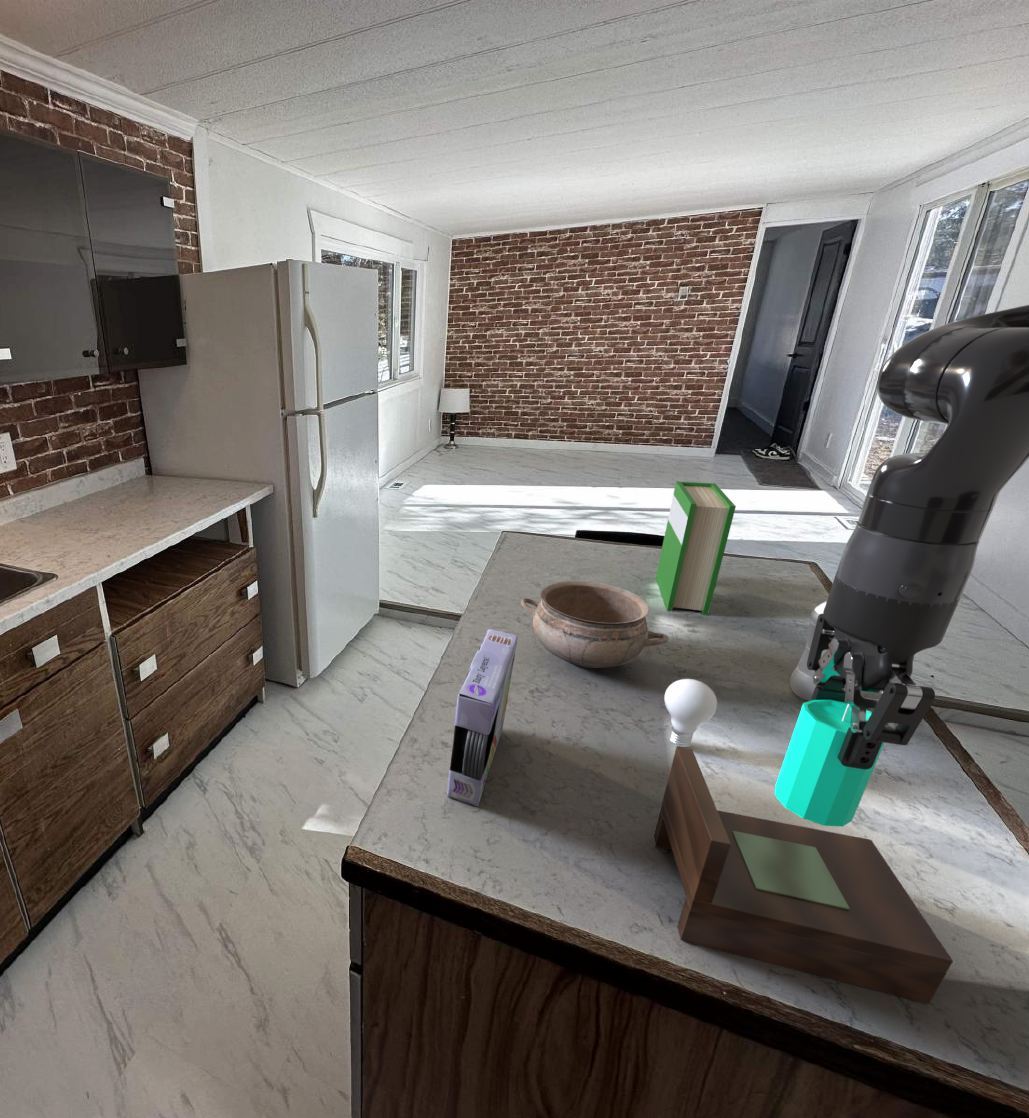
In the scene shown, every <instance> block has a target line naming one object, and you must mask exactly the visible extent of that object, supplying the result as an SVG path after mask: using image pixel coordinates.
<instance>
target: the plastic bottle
mask: <svg viewBox="0 0 1029 1118" xmlns="http://www.w3.org/2000/svg"><path fill="white" fill-rule="evenodd" d="M826 602H827V600H825V601H823V602H821V603H819V604H818V605H816V606H815V607H814V608H813V609H812V611H811V612H810V616H809V625H808V626H809V627H808V635H807V639H806V644H805V647H804V651H803V653H802V655H801V657H800V658H799V659H800V660H799V661H798V663H797V665H796V667H795V668H794V670H793V671H792V673H791V675H790V681H789V687H790V688H791V691H792V692H793V693H794V694H795V695H796V696H797V697H799V698H801V699H803V700H805V701H806V702H808V701H811V698H812V696H813V693H814V690H815V687H816V686H817V685H815V684H814V683H813V675H814V673H815V671H814V670H809V669H808V668H807V660H808V656H809V652H810V648H811V644H812V640H813V636H814V631H815V627H816V623H817V619H818V616H819V614H821V613H822V614H823V611H824V608H825V605H826ZM826 651H827V650H823V651H822V654H821V657H822V656H823V655H824V653H825V652H826ZM842 690H844V691H846V689H843V688H842Z"/></svg>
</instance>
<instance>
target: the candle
mask: <svg viewBox="0 0 1029 1118" xmlns="http://www.w3.org/2000/svg"><path fill="white" fill-rule="evenodd" d="M872 712H873V711H871V710H868V709H867V710H866V721H868V719H869V718H870V716H871V714H872ZM850 723H851V705H850V704H848V703H847V702H845V701H844V702H840V701H835V700H830V699H827V700H811V701H806V702H803V703H802V706H801V708H800V712H799V714H798V717H797V720H796V723H795V727H794V729H793V732H792V735H791V737H790V740H789V744H788V747H787V749H786V752H785V755H784V759H783V761H782V764H781V767H780V770H779V773H778V776H777V779H776V782H775V785H774V797H775V798H776V799H777V800H778V801H779V802H780V804H782V806H783V807H784V808H785V809H787V810H788V811H790V812H791V813H793V814H795V815H796V816H798V817H800V818H801V819H803V820H805V821H809V822H812V823H815V824H817V825H820V826H824V827H838V828H839V827H842V828H843V827H845V826H846V825H848V824H850V823H851V822H853V820H854V818H855V814H856V812H857V810H858V807H859V805H860V803H861V801H862V798H863V795H864V793H865V791H866V788H867V786H868V783H869V781H870V779H871V776H872V774H873V771H874V768H875V766H876V764H877V761H878V759H879V757H880V754H881V752H882V750H883V747H884V744H885V743H884V742H883V743H882V745H881V747H880V750H879V752H878V755H877V757H876V759H875V762H874V764H873V766H872V767H871V768H870V769H858V768H852V767H846V766H843V765H842V764H841V762H840V761H839V759H838V754H839V752H840V749H841V747H842V744H843V741H844V739H845V736H846V734H847V731H848V728H849V727H850ZM850 728H851V727H850Z"/></svg>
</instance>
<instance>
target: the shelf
mask: <svg viewBox="0 0 1029 1118" xmlns="http://www.w3.org/2000/svg"><path fill="white" fill-rule="evenodd" d="M655 824H656V825H655V829H654V831H653V832H654V833H653V836H652V837H653V841H654V844H655V847H657V848H662V849H666V850H671V851H672V853H673V857H674V861H675V864H676V868H677V871H678V874H679V877H680V881H681V885H682V887H683V891H684V895H685V899H684V903H683V907H682V910H681V913H680V917H679V920H678V923H677V926H676V927H677V930H678V931H677V932H678V935H679V938H680V940H681V941H683V942H687V943H691V944H695V945H699V946H703V947H705V948H710V949H713V950H714V949H715V950H718V951H721V952H726V953H730V954H733V955H737V956H741V957H745V958H748V959H752V960H757V961H761V962H765V963H768V964H772V965H777V966H780V967H784V968H788V969H791V970H795V971H800V972H803V973H807V974H811V975H815V976H819V977H823V978H826V979H830V980H834V981H838V982H842V983H846V984H849V985H853V986H857V987H862V988H865V989H868V990H873V991H877V992H881V993H884V994H888V995H892V996H897V997H900V998H903V999H909V1000H912V1001H916V1002H920V1003H924V1004H928V1005H929V1004H930V1003H931V1001H932V999H933V998H934V996H935V994H936V992H937V991H938V989H939V987H940V985H941V984H942V982H943V980H944V979H945V976H946V975H947V973H948V971H949V969H950V968H951V966H952V964H953V962H954V961H953V958H952V957H951V956H950V954H949V953H948V952H947V950H946V948H945V947H944V945H943V944H942V942H941V941H940V939H939V938H938V937H937V935H936V933H935V932H934V931H933V929H932V927H931V926H930V924H929V923H928V922H927V920H926V919H925V917H924V916H923V914H922V913H921V911H920V910H919V909H918V907H917V905H916V904H915V902H914V901H913V899H912V898H911V896H910V894H909V893H908V892H907V890H906V889H905V888H904V886H903V884H902V883H901V882H900V880H899V879H898V877H897V876H896V874H895V872H894V871H893V870H892V868H891V867H890V866H889V864H888V862H887V860H886V859H885V858H884V856H883V855H882V853H881V852H880V850H879V849H878V847H877V846H876V844H875V843H874V842H873V840H872V839H869V838H864V837H858V836H854V835H848V834H843V833H839V832H838V833H837V832H832V831H827V830H823V829H817V828H812V827H807V826H802V825H798V824H797V825H796V824H793V823H791V824H790V823H786V822H780V821H776V820H770V819H765V818H759V817H755V816H749V815H745V814H740V813H734V812H729V811H723V810H718V809H717V807H716V804H715V801H714V799H713V797H712V794H711V792H710V789H709V787H708V784H707V783H706V780H705V776H704V774H703V772H702V770H701V767H700V765H699V762H698V760H697V757H696V754H695V752H694V750H693V749H692V748H688V747H680V746H676V747H675V751H674V754H673V759H672V763H671V766H670V770H669V775H668V778H667V782H666V786H665V790H664V794H663V798H662V802H661V806H660V810H659V813H658V817H657V820H656V823H655Z"/></svg>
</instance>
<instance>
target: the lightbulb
mask: <svg viewBox="0 0 1029 1118" xmlns="http://www.w3.org/2000/svg"><path fill="white" fill-rule="evenodd" d="M663 700H664V705H665V708H666V710H667V711H668V713H669V715H670V720H671V721H670V723H671V730H670V731H671V732H670V734H669V739H668V740H669V741H670V743H672V744H674V745H676V747H683V748H688V747H690V746H691V744H692V740H693V736H694V734H695V732H697V730H698V729H699V727H700V726H701V725H703V724H705V723H706V722H708V721H709V720H711V719H713V717H714V716H715V714H716V712H717V709H718V699H717V696H716V693H715V692H714V691H713V689H712V688H711V687H710V686H708V685H707V684H706V683H704V682H703V681H700V680H698V679H694V678H693V679H692V678H681V679H678V680H675V681H673V682H672V683H671V684H670V685H668V687H667V688H666V690H665V692H664V697H663Z"/></svg>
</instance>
